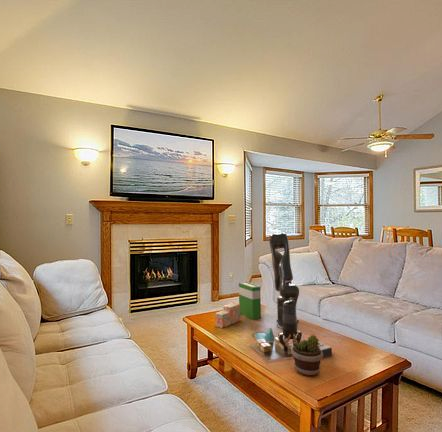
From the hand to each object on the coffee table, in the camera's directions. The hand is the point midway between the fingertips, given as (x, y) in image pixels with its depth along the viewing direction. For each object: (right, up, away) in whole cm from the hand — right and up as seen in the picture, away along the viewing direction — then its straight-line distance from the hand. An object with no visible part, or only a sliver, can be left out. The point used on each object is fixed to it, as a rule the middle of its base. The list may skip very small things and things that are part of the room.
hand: (290, 351), depth 168 cm
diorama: (-8, -2, +22) cm, 23 cm away
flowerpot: (+2, -1, -20) cm, 20 cm away
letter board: (-7, -1, +3) cm, 8 cm away
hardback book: (-10, -2, +65) cm, 66 cm away
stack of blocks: (-29, -2, +49) cm, 57 cm away
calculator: (+14, -1, +2) cm, 14 cm away
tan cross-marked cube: (0, 0, 0) cm, 0 cm away
